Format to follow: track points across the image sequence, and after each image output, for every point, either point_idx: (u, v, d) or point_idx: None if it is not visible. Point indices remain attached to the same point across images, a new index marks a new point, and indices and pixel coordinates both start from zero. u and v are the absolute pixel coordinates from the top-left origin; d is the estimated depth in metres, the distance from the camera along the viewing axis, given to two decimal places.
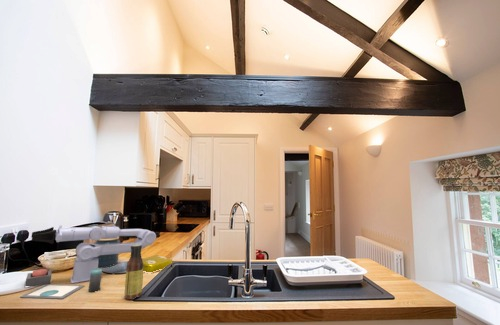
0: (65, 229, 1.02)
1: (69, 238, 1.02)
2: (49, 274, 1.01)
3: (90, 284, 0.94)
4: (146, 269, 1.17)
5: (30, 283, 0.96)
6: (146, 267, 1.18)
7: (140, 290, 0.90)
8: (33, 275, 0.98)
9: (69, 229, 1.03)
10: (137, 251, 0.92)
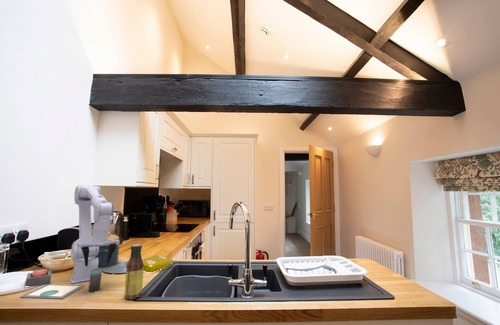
0: (105, 238, 0.97)
1: None
2: (49, 274, 1.01)
3: (90, 284, 0.94)
4: (146, 269, 1.17)
5: (30, 283, 0.96)
6: (146, 267, 1.17)
7: (140, 290, 0.90)
8: (33, 275, 0.98)
9: (105, 235, 0.97)
10: (137, 251, 0.92)
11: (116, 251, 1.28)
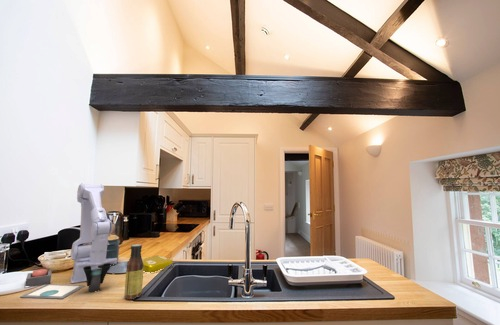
0: (102, 258, 0.96)
1: None
2: (49, 274, 1.01)
3: (90, 284, 0.94)
4: (146, 270, 1.17)
5: (30, 283, 0.96)
6: (146, 267, 1.17)
7: (140, 290, 0.90)
8: (33, 275, 0.98)
9: (103, 254, 0.96)
10: (137, 251, 0.92)
11: (116, 251, 1.28)
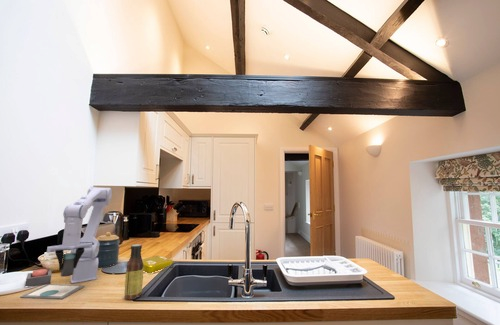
0: (76, 242, 0.93)
1: None
2: (49, 274, 1.01)
3: (62, 268, 0.91)
4: (146, 270, 1.16)
5: (30, 283, 0.96)
6: (146, 267, 1.17)
7: (140, 290, 0.90)
8: (33, 275, 0.98)
9: (76, 238, 0.94)
10: (137, 251, 0.92)
11: (116, 251, 1.28)
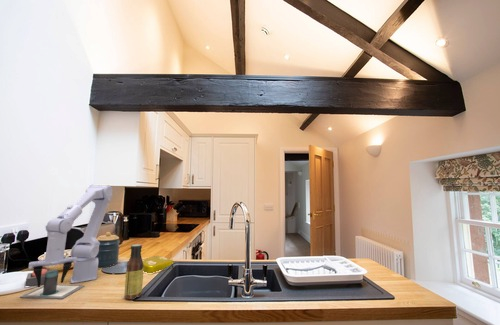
0: (59, 257, 0.91)
1: None
2: None
3: (44, 287, 0.88)
4: (146, 270, 1.16)
5: (30, 283, 0.96)
6: (146, 267, 1.16)
7: (140, 290, 0.90)
8: (33, 275, 0.98)
9: (60, 253, 0.91)
10: (137, 251, 0.92)
11: (116, 251, 1.28)
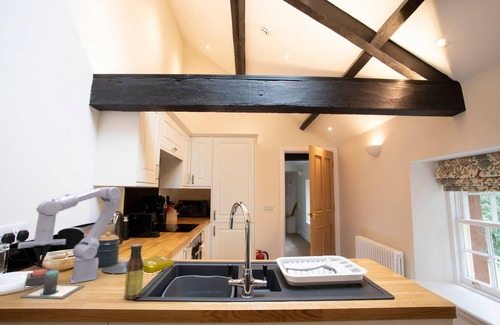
0: (48, 238, 0.94)
1: None
2: None
3: (44, 286, 0.88)
4: (146, 270, 1.16)
5: (30, 283, 0.96)
6: (146, 268, 1.16)
7: (140, 290, 0.90)
8: (33, 275, 0.98)
9: (49, 234, 0.94)
10: (137, 251, 0.92)
11: (116, 251, 1.28)
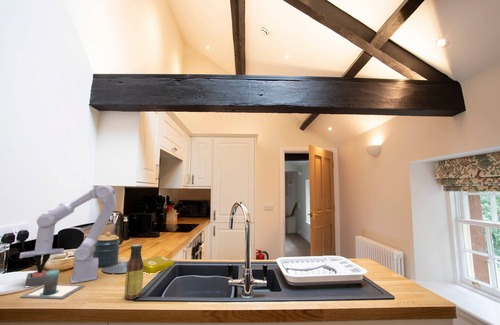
0: (47, 248, 1.01)
1: None
2: None
3: (44, 286, 0.88)
4: (146, 271, 1.15)
5: (30, 283, 0.96)
6: (146, 268, 1.16)
7: (140, 290, 0.90)
8: None
9: (48, 244, 1.02)
10: (137, 251, 0.92)
11: (116, 251, 1.28)
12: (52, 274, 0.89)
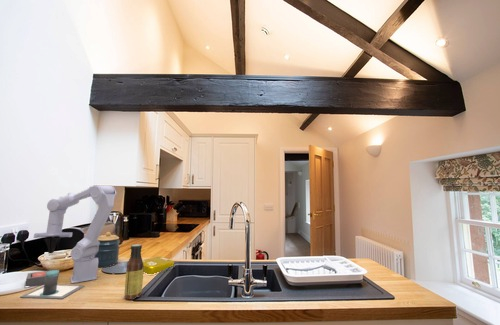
0: (55, 230, 1.10)
1: None
2: None
3: (44, 286, 0.88)
4: (147, 271, 1.15)
5: (30, 283, 0.96)
6: (146, 268, 1.15)
7: (140, 290, 0.90)
8: None
9: (56, 227, 1.10)
10: (137, 251, 0.92)
11: (116, 251, 1.28)
12: (52, 274, 0.89)
